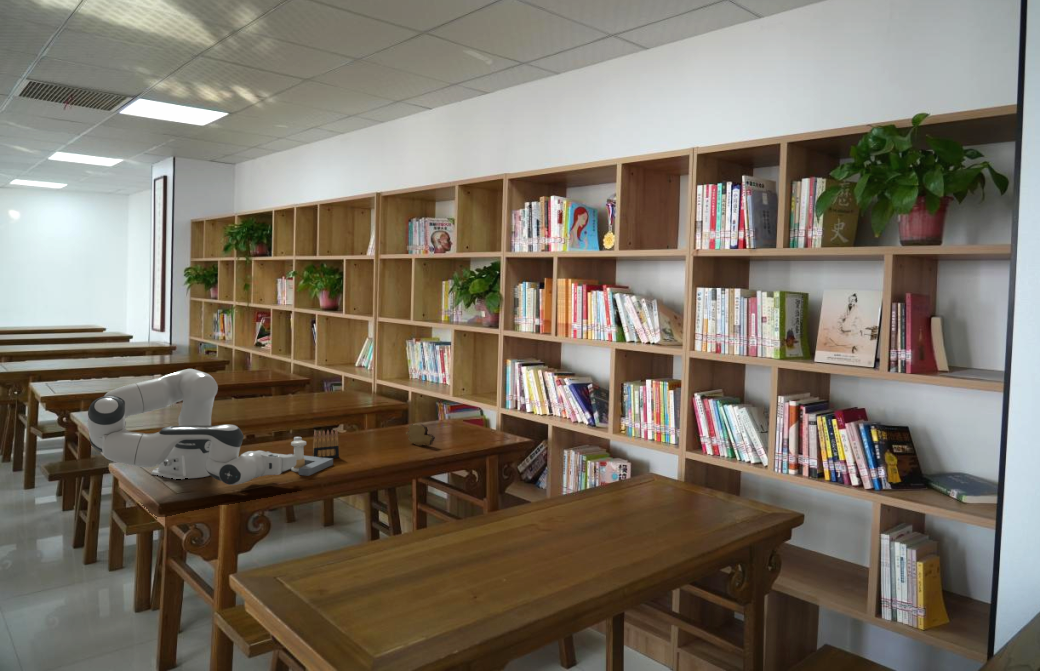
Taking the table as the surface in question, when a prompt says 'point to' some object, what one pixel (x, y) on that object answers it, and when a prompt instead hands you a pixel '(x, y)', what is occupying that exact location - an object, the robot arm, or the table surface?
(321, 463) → the notched board
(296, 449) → the bobbin
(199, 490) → the table surface
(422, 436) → the wooden carving
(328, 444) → the ammunition clip
